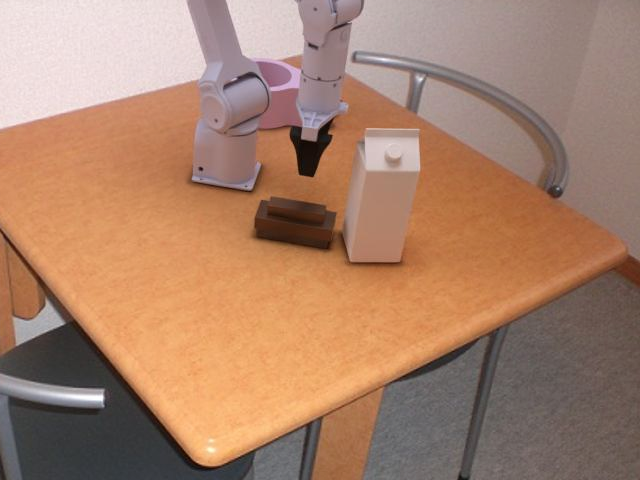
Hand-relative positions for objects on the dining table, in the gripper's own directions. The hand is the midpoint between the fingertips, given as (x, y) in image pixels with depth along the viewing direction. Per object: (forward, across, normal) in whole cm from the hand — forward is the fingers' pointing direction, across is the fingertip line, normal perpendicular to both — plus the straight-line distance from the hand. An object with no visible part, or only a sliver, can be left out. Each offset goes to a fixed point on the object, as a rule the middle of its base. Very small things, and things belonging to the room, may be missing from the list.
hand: (310, 161), depth 125 cm
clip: (+10, +30, +10) cm, 33 cm away
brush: (+9, -5, +1) cm, 11 cm away
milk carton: (+10, -5, -10) cm, 15 cm away
